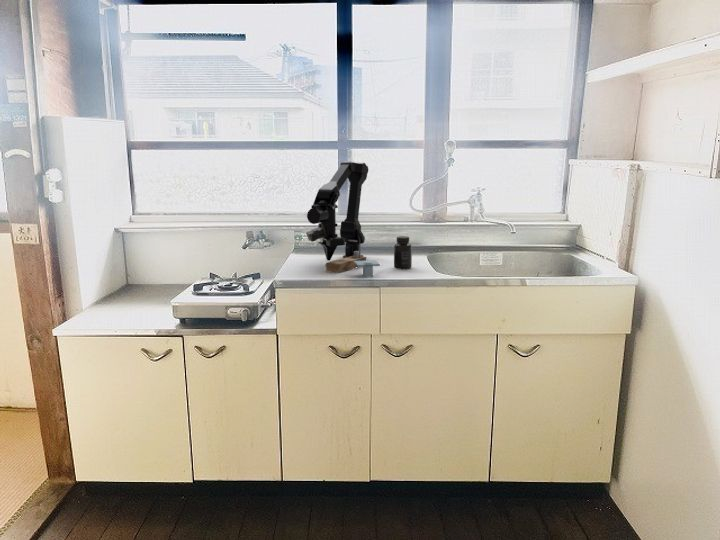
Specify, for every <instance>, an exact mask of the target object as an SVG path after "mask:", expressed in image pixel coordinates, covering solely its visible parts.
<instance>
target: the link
mask: <svg viewBox="0 0 720 540" xmlns="http://www.w3.org/2000/svg"><path fill="white" fill-rule="evenodd" d="M365 260H367V256H364V255H363V256H359V258H354V256H350V257H342V258H340V259H339V258H338V259H335V260H332V261H331V260H330V261H327V262H325V272H329V273H334V272H335V274H340V273H343V272H347V271H349V270H352V269H353V268H354V269H356V267H357V268H359V267H358V266H356V265H355V264H354V261H365ZM346 270H347V271H346ZM342 271H343V272H342ZM339 272H340V273H339Z"/></svg>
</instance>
